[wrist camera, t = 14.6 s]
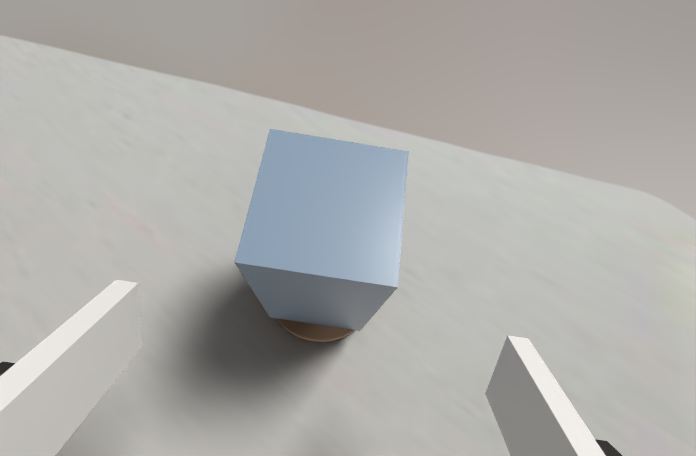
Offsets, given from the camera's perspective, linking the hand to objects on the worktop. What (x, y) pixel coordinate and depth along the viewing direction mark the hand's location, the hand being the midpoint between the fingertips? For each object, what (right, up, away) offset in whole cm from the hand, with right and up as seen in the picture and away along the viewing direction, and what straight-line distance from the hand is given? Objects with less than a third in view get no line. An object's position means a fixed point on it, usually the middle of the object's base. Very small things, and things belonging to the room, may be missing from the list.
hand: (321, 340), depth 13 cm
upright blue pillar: (-1, 0, +12) cm, 12 cm away
